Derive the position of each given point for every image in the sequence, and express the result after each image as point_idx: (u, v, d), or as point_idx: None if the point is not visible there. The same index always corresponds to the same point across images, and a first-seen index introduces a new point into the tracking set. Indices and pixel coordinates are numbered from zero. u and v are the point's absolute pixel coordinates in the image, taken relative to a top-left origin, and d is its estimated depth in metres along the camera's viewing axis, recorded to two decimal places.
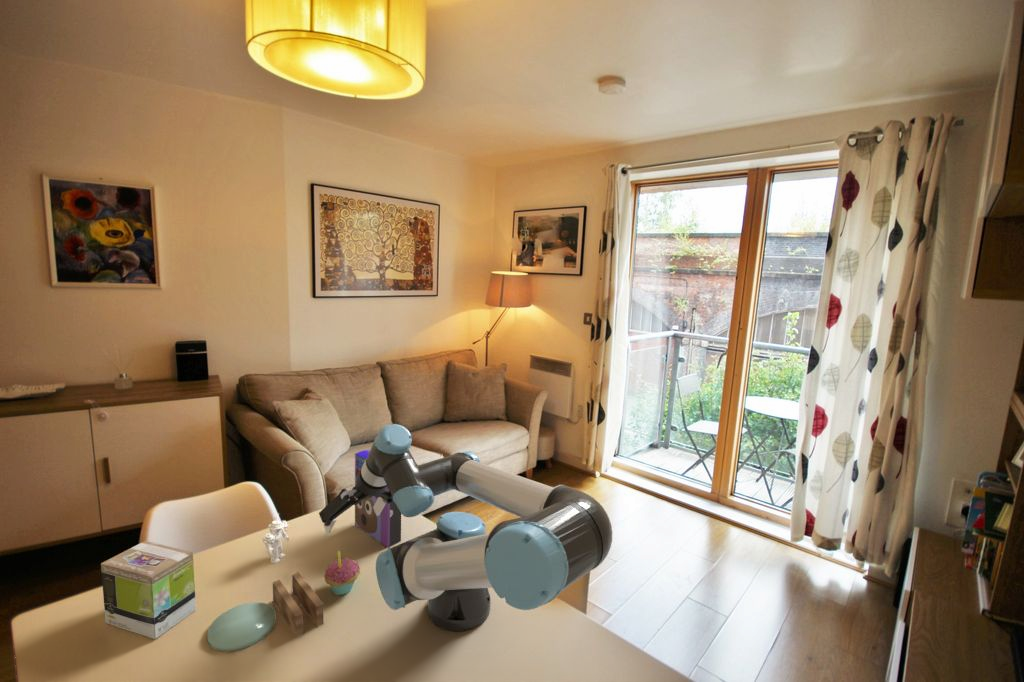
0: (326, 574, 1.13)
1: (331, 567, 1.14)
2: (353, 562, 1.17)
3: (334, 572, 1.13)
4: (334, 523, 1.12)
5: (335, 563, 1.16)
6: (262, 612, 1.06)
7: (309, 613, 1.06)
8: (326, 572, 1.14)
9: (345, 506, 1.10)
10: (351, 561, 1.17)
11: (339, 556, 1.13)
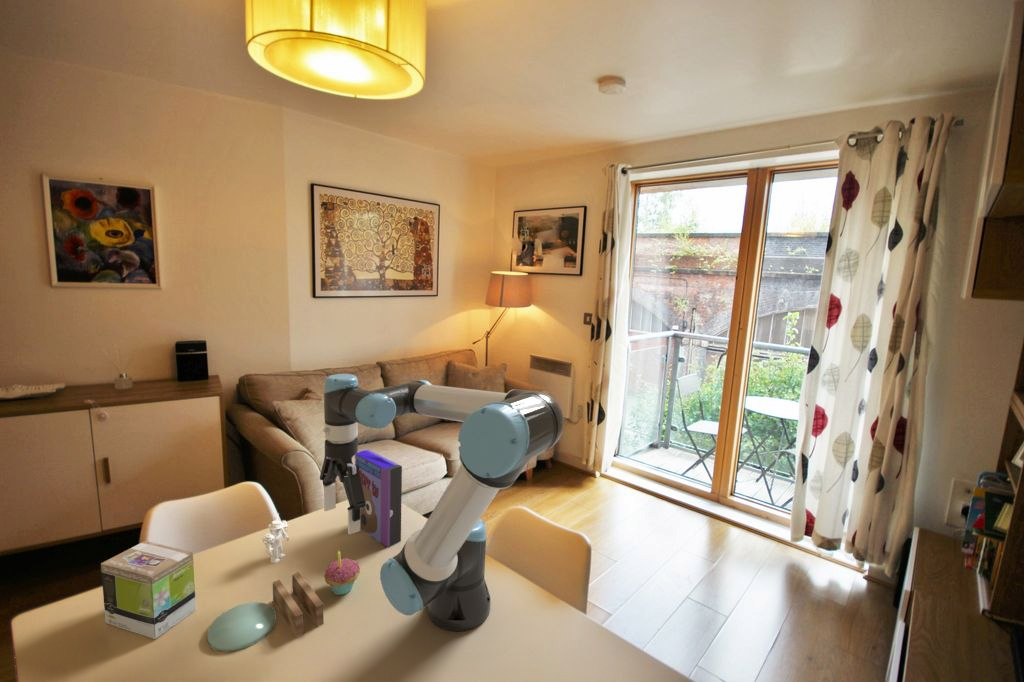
0: (326, 574, 1.13)
1: (331, 567, 1.14)
2: (353, 562, 1.17)
3: (334, 572, 1.13)
4: None
5: (335, 563, 1.16)
6: (262, 612, 1.06)
7: (309, 613, 1.06)
8: (326, 572, 1.14)
9: None
10: (351, 561, 1.17)
11: (339, 556, 1.13)
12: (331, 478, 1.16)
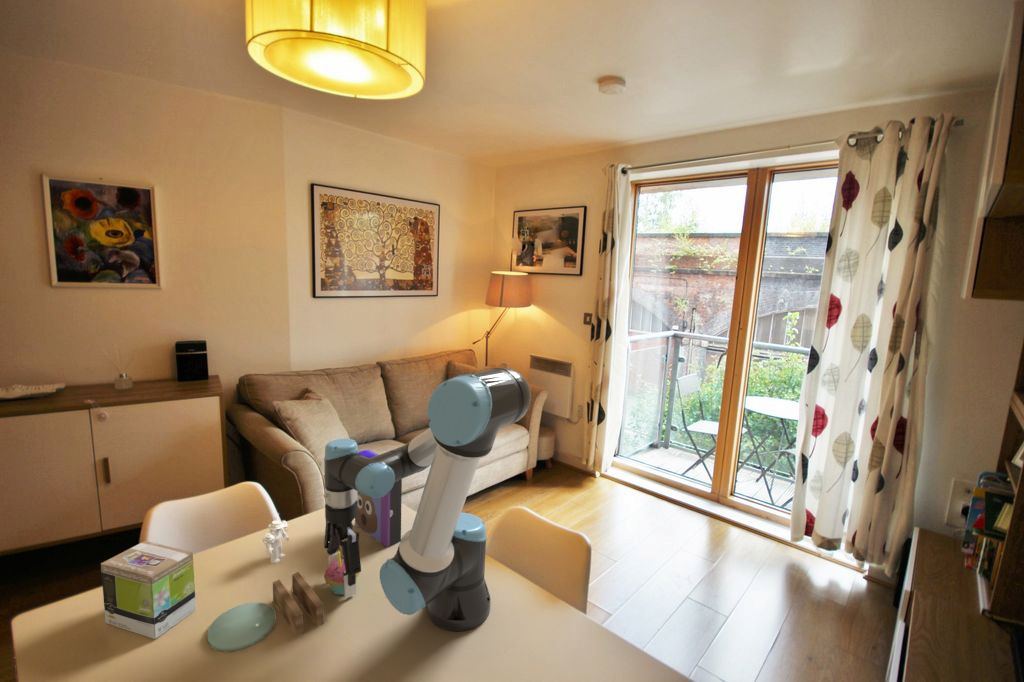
0: (326, 573, 1.13)
1: (330, 567, 1.14)
2: None
3: (334, 572, 1.13)
4: None
5: (335, 563, 1.16)
6: (262, 612, 1.06)
7: (309, 613, 1.06)
8: (326, 572, 1.14)
9: None
10: None
11: (339, 556, 1.13)
12: (334, 544, 1.17)
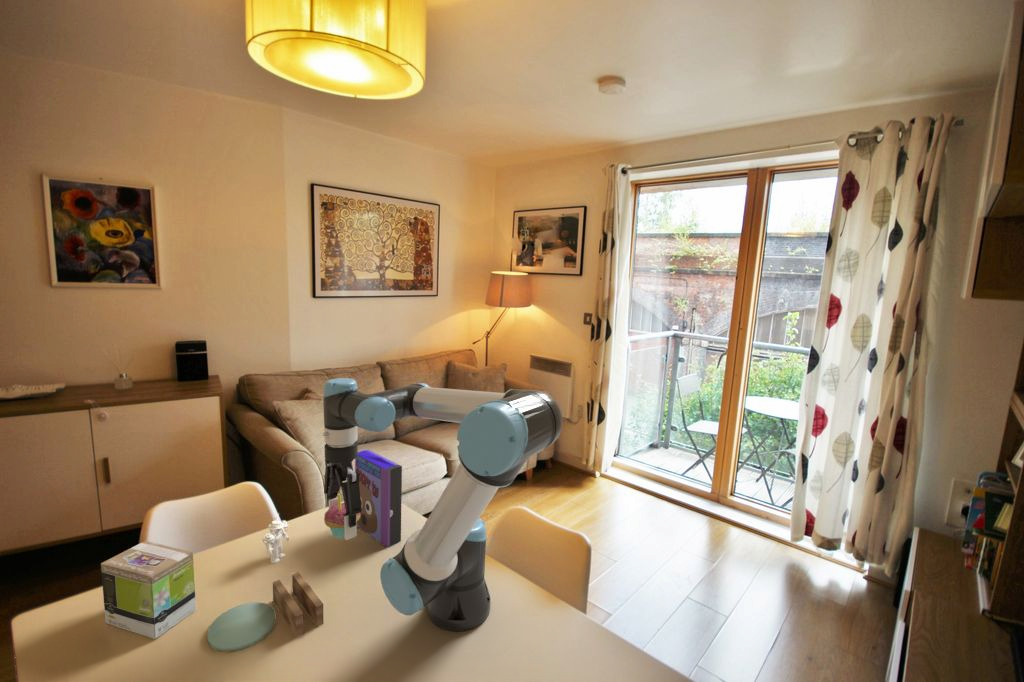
0: (326, 516, 1.11)
1: (330, 510, 1.12)
2: None
3: (334, 514, 1.10)
4: None
5: (335, 506, 1.13)
6: (262, 612, 1.06)
7: (309, 613, 1.06)
8: (326, 515, 1.11)
9: None
10: None
11: (339, 498, 1.11)
12: (334, 489, 1.15)
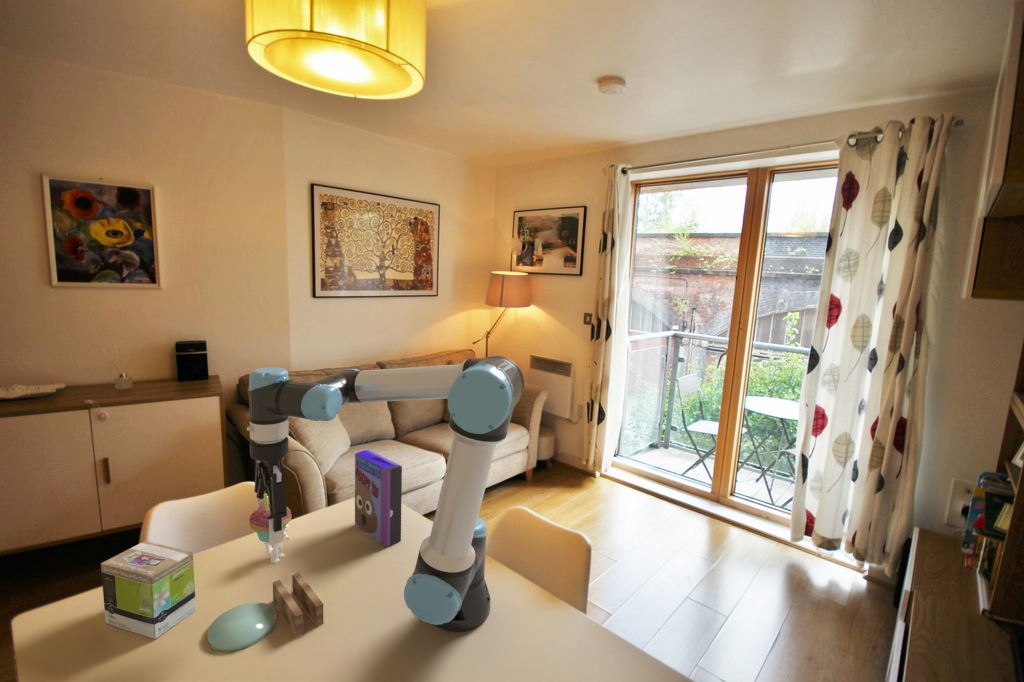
0: (251, 518, 1.01)
1: (257, 511, 1.02)
2: None
3: (259, 516, 1.01)
4: (282, 519, 1.01)
5: (263, 507, 1.03)
6: (262, 612, 1.06)
7: (309, 613, 1.06)
8: (251, 516, 1.02)
9: None
10: None
11: (266, 498, 1.01)
12: (264, 488, 1.05)
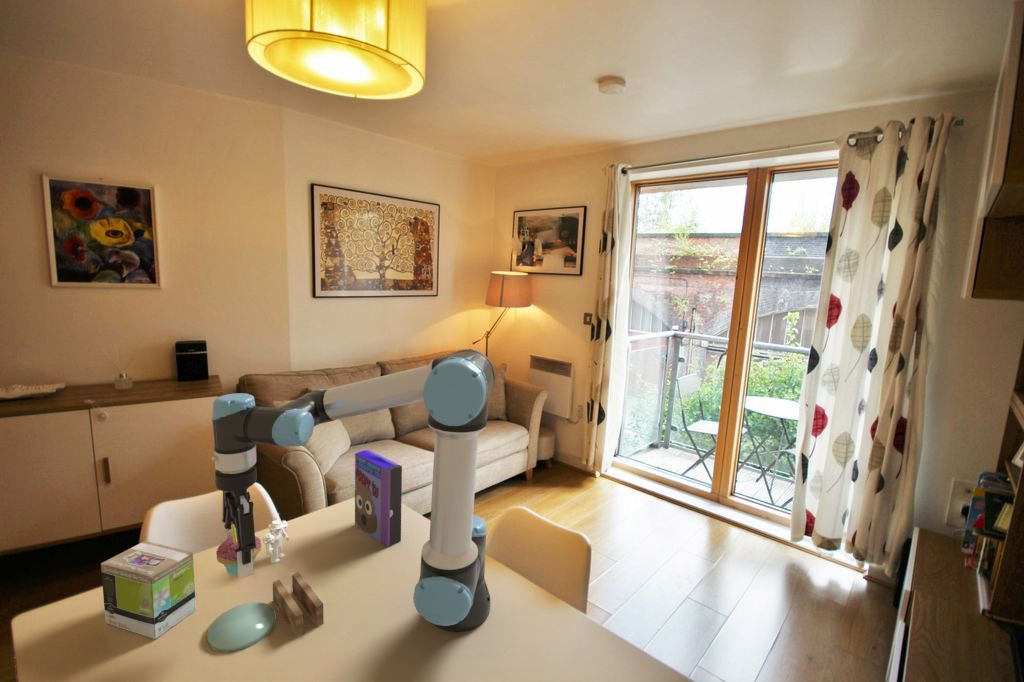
0: (218, 550, 0.97)
1: (225, 543, 0.98)
2: None
3: (227, 548, 0.97)
4: (251, 551, 0.97)
5: (231, 538, 1.00)
6: (262, 612, 1.06)
7: (309, 613, 1.06)
8: (218, 548, 0.98)
9: None
10: None
11: (233, 530, 0.97)
12: (232, 518, 1.01)
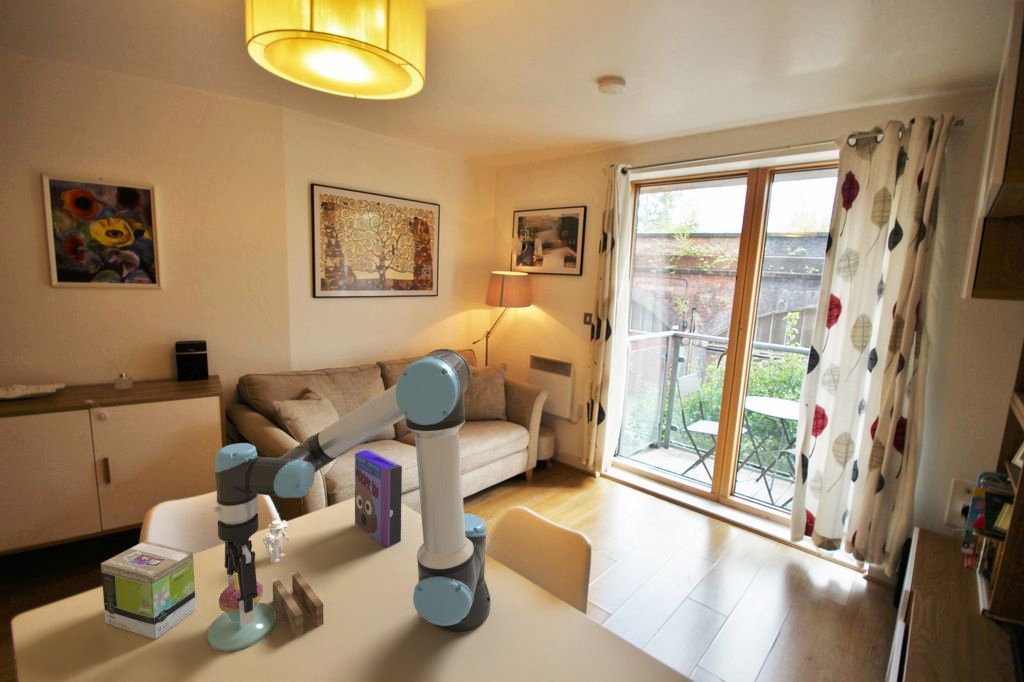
0: (220, 598, 0.99)
1: (227, 590, 1.00)
2: None
3: (229, 596, 0.98)
4: (253, 598, 0.99)
5: (233, 585, 1.01)
6: (262, 612, 1.06)
7: (309, 613, 1.06)
8: (221, 596, 0.99)
9: None
10: None
11: (235, 578, 0.99)
12: None
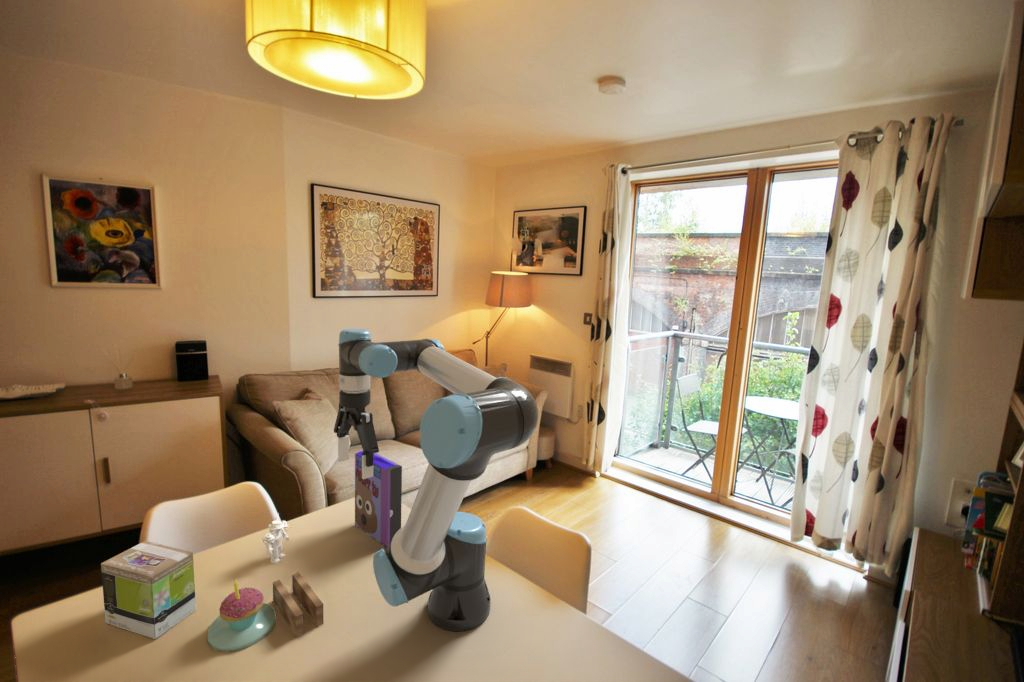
0: (221, 607, 0.99)
1: (227, 599, 1.00)
2: (256, 592, 1.03)
3: (230, 605, 0.99)
4: None
5: (234, 594, 1.01)
6: (262, 612, 1.06)
7: (309, 613, 1.06)
8: (221, 605, 1.00)
9: None
10: (253, 591, 1.03)
11: (236, 587, 0.99)
12: (345, 430, 1.22)
